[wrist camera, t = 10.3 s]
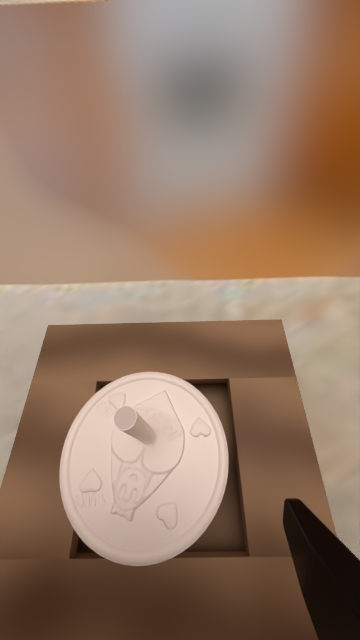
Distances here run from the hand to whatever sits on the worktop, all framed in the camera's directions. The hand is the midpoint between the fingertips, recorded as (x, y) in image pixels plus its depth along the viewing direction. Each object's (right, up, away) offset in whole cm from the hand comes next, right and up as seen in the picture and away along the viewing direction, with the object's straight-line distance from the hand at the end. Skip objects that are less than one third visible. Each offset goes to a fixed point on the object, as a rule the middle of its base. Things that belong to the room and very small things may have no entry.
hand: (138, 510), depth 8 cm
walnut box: (0, -4, +10) cm, 11 cm away
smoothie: (0, -4, +10) cm, 11 cm away
